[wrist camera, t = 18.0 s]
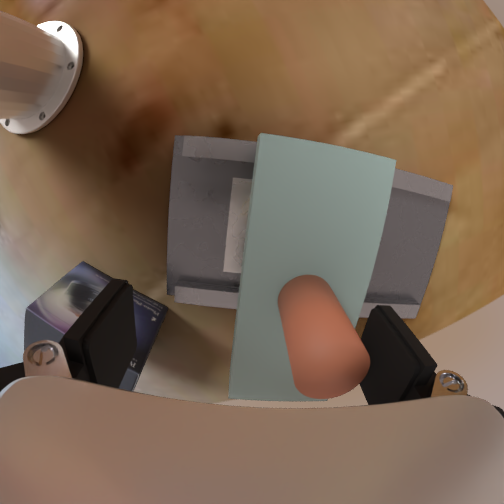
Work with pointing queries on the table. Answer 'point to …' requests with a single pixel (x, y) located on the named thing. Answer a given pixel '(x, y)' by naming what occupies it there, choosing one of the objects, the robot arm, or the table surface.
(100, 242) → the table surface
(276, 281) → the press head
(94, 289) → the small box
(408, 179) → the base
